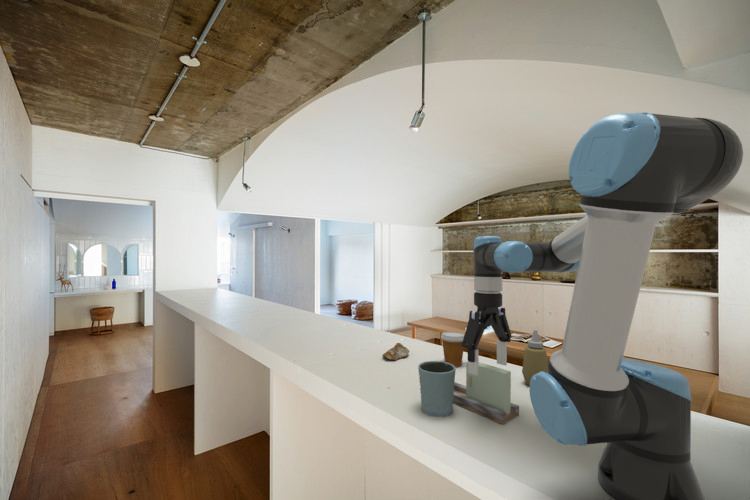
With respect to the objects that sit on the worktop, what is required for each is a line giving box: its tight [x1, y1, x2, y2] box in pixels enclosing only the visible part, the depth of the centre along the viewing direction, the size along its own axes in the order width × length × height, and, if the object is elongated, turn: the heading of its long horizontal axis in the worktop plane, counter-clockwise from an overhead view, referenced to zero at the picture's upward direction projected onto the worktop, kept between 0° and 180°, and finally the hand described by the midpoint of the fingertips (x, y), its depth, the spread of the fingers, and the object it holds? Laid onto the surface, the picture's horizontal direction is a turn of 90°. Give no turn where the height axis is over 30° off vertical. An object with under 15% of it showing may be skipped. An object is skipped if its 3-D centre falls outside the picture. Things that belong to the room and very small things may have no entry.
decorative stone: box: [382, 342, 410, 362], centre depth 144 cm, size 10×4×15 cm
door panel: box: [465, 361, 512, 415], centre depth 95 cm, size 12×3×11 cm, turn 39°
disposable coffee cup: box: [440, 331, 465, 368], centre depth 134 cm, size 10×10×12 cm
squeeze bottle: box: [521, 329, 549, 387], centre depth 114 cm, size 8×8×18 cm
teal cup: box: [418, 360, 457, 417], centre depth 95 cm, size 10×10×12 cm
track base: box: [453, 381, 520, 425], centre depth 99 cm, size 24×8×2 cm, turn 39°
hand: (488, 369), depth 95 cm, fingers open, 13 cm apart
